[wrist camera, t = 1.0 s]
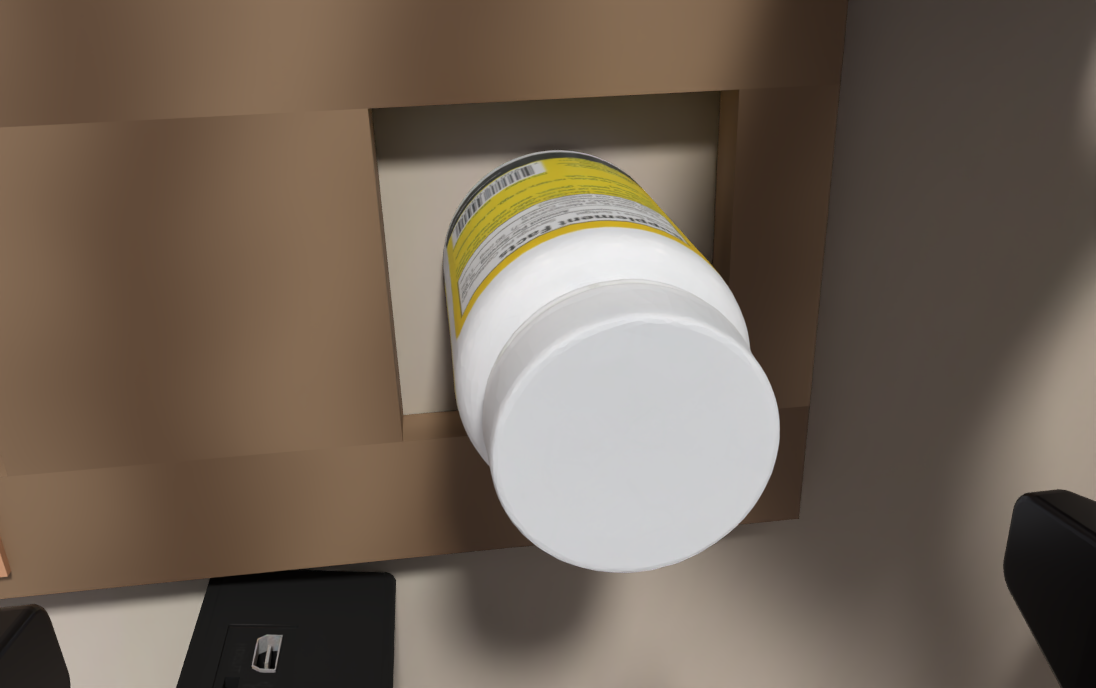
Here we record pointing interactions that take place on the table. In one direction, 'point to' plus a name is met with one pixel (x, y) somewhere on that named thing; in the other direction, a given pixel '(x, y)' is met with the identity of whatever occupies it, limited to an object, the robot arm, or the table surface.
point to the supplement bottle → (602, 367)
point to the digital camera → (294, 631)
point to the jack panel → (323, 262)
